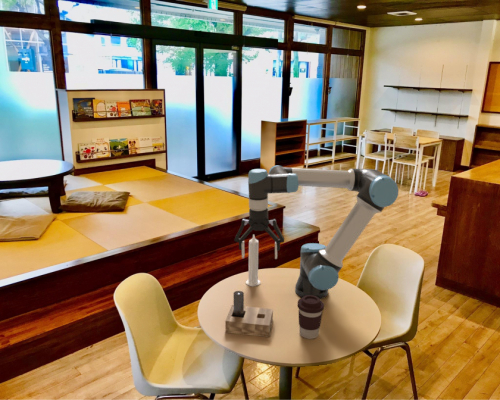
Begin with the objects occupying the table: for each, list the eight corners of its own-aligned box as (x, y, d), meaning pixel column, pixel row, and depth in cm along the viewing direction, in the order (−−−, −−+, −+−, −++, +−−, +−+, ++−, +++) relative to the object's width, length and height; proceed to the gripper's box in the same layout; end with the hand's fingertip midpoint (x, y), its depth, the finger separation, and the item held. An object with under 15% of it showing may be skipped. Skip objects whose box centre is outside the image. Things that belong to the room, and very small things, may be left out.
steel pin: (244, 320, 169) (244, 291, 166) (242, 325, 166) (242, 296, 162) (234, 319, 170) (234, 290, 166) (232, 324, 166) (232, 295, 163)
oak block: (272, 319, 172) (272, 309, 170) (268, 337, 160) (269, 325, 159) (231, 315, 174) (231, 304, 173) (225, 332, 163) (225, 320, 162)
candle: (258, 287, 198) (259, 237, 191) (244, 285, 200) (244, 236, 193) (261, 280, 205) (262, 232, 198) (247, 279, 206) (247, 231, 199)
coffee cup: (304, 323, 170) (306, 290, 165) (326, 333, 164) (329, 298, 159) (291, 334, 162) (292, 300, 158) (313, 344, 156) (315, 309, 152)
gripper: (290, 205, 169) (290, 254, 175) (229, 205, 172) (231, 252, 178) (289, 211, 162) (289, 261, 168) (226, 210, 165) (228, 260, 171)
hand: (259, 257), depth 173 cm, fingers open, 13 cm apart
